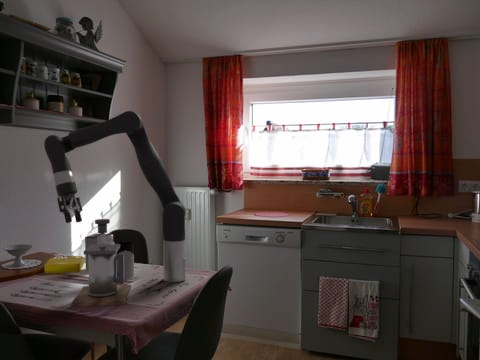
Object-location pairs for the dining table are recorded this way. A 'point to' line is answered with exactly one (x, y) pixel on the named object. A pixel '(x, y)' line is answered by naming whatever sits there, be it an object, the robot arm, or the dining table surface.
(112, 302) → the board
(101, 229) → the plunger
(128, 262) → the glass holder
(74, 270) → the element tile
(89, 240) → the coffee box
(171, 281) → the robot arm
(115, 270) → the press
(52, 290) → the dining table surface
